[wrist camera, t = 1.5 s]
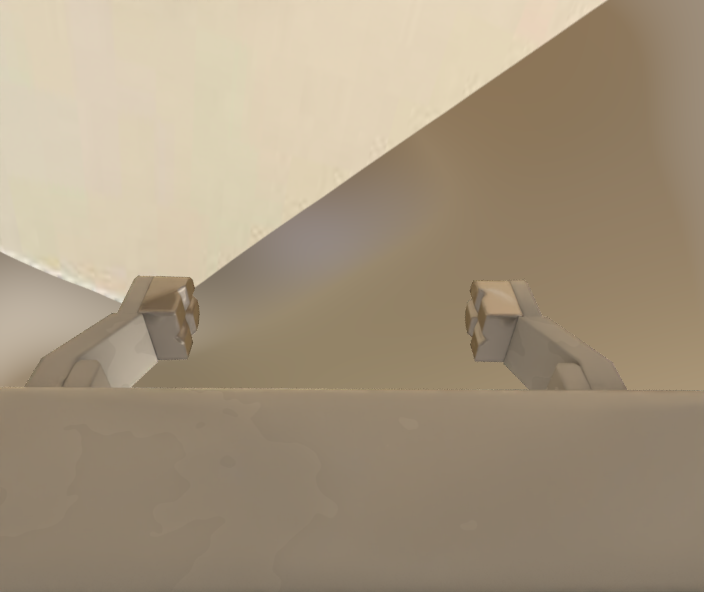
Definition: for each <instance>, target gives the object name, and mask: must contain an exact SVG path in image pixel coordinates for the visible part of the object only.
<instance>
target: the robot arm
mask: <svg viewBox="0 0 704 592" xmlns="http://www.w3.org/2000/svg"><path fill="white" fill-rule="evenodd" d="M194 289H195V287H194V284H193V280H192V279H191V278H190V277H168V276H137V277H136V278H135V279H134V280H133V282H132V284H131V286H130V288H129V290H128V292H127V294H126V296H125V298H124V300H123V302H122V304H121V306H120V308H119V310H118V312H117V313H112V314H110V315H108V316H107V317H105V318H104V319H102V320H101V321H99V322H97V323H96V324H94V325H93V326H91V327H90V328H88V329H86V330H85V331H83V332H82V333H80V334H79V335H77V336H76V337H74V338H72V339H71V340H69V341H68V342H66V343H65V344H63V345H62V346H60V347H58V348H57V349H55V350H54V351H52V352H51V353H49V354H48V355H46V356H44V357H43V358H42V359H41V360H40V362H39V363H38V365H37V367H36V368H35V370H34V372H33V373H32V375H31V377H30V378H29V380H28V381H27V383H26V385H25V386H24V387H0V592H704V391H699V390H696V391H695V390H692V391H690V390H689V391H688V390H687V391H686V390H627V389H626V387H625V385H624V383H623V381H622V379H621V377H620V375H619V374H618V372H617V370H616V368H615V366H614V364H613V362H611V361H610V360H608V359H607V358H606V357H604V356H603V355H601V354H600V353H598V352H597V351H596V350H594V349H593V348H591V347H590V346H588V345H587V344H586V343H584V342H583V341H581V340H580V339H578V338H577V337H575V336H574V335H573V334H571V333H570V332H568V331H567V330H565V329H564V328H563V327H561V326H560V325H558V324H557V323H555V322H554V321H553V320H551V319H550V318H548V317H543V316H542V314H541V312H540V310H539V307H538V305H537V303H536V301H535V299H534V297H533V294H532V292H531V290H530V287H529V285H528V283H527V281H525V280H507V281H500V280H494V281H493V280H492V281H491V280H481V281H480V280H474V281H473V282H472V285H471V289H470V293H471V297H472V299H471V300H470V301H468V302H467V307H466V312H465V323H466V329H467V333H468V334H469V335H470V336H471V337H472V340H471V344H470V345H471V349H472V352H473V356H474V359H475V361H483V362H504V364H505V365H506V367H507V368H508V369H509V370H510V371H511V372H512V373H513V374H514V375H515V376H516V377H517V378H518V379H519V380H520V381H521V382H522V383H523V384H524V385H525V386H526V387H527V388H528V389H529V390H476V389H472V390H471V389H470V390H469V389H466V390H465V389H279V388H278V389H276V388H274V389H272V388H270V389H269V388H267V389H266V388H131V387H132V386H133V385H134V384H135V383H136V382H137V381H138V380H139V379H140V378H141V377H142V376H143V375H144V374H145V373H146V372H148V371H149V370H150V369H151V368H152V367H153V366H154V365H155V364H156V363H157V362H158V360H176V359H177V360H178V359H188V357H189V354H190V350H191V347H192V344H193V340H192V336H191V335H192V334H194V333H195V332H196V331H197V328H198V324H199V315H200V314H199V305H198V300H197V299H196V298H195V297H194V296H192V295H193V292H194Z"/></svg>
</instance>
